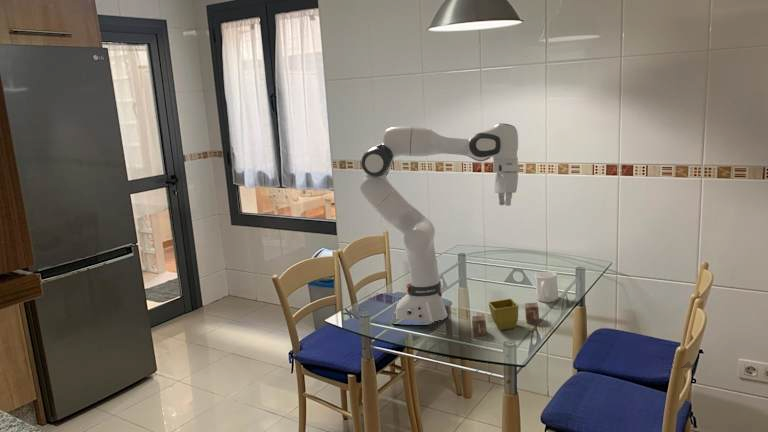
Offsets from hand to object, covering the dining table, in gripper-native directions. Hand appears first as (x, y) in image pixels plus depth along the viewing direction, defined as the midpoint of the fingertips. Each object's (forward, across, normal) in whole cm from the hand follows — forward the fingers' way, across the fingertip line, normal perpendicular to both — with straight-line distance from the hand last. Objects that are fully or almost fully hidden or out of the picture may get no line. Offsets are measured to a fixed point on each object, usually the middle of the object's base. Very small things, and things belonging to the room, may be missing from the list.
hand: (504, 205), depth 216 cm
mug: (+38, -14, +21) cm, 46 cm away
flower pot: (+44, +6, 0) cm, 45 cm away
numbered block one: (+46, +9, -10) cm, 48 cm away
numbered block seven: (+42, +3, +10) cm, 43 cm away
